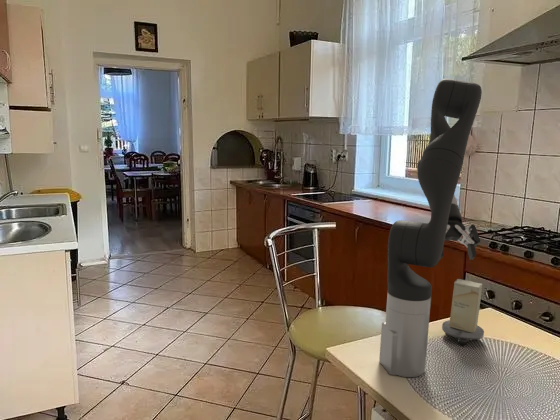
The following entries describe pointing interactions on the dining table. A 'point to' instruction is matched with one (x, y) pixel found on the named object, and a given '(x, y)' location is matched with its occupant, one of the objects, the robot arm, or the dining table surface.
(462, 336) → the dark gray bowl
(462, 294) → the skincare box
